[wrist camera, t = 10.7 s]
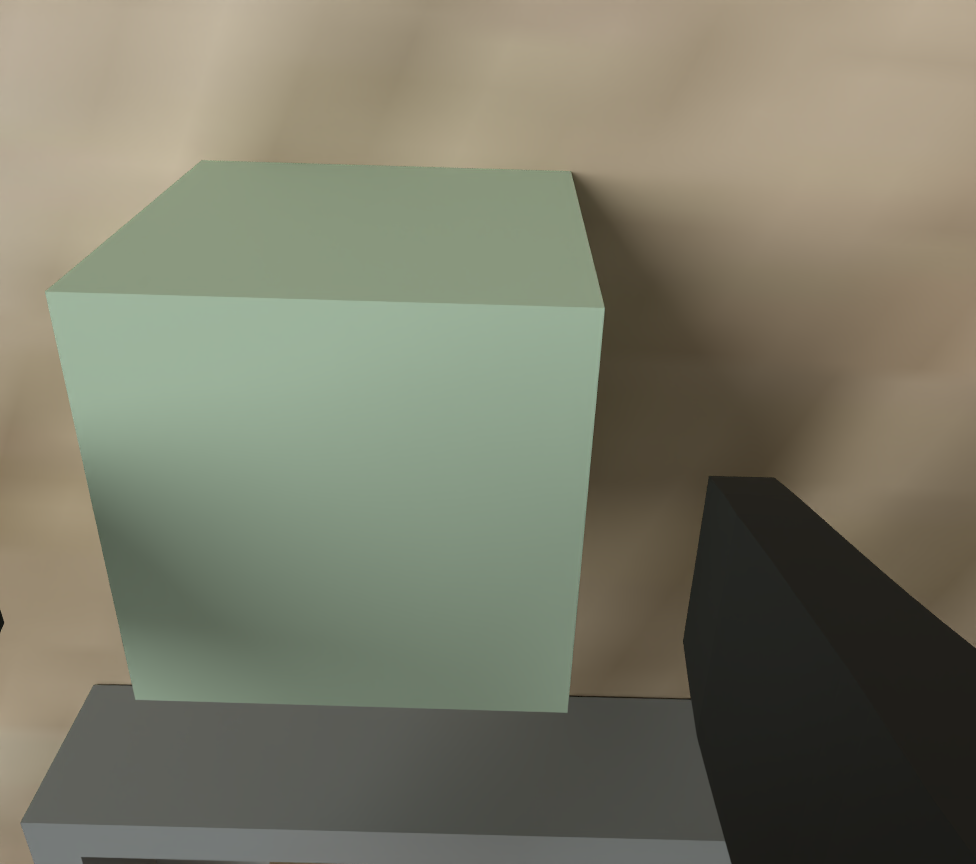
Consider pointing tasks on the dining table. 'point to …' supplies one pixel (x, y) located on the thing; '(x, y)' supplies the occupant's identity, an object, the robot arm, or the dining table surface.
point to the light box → (341, 433)
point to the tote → (375, 785)
